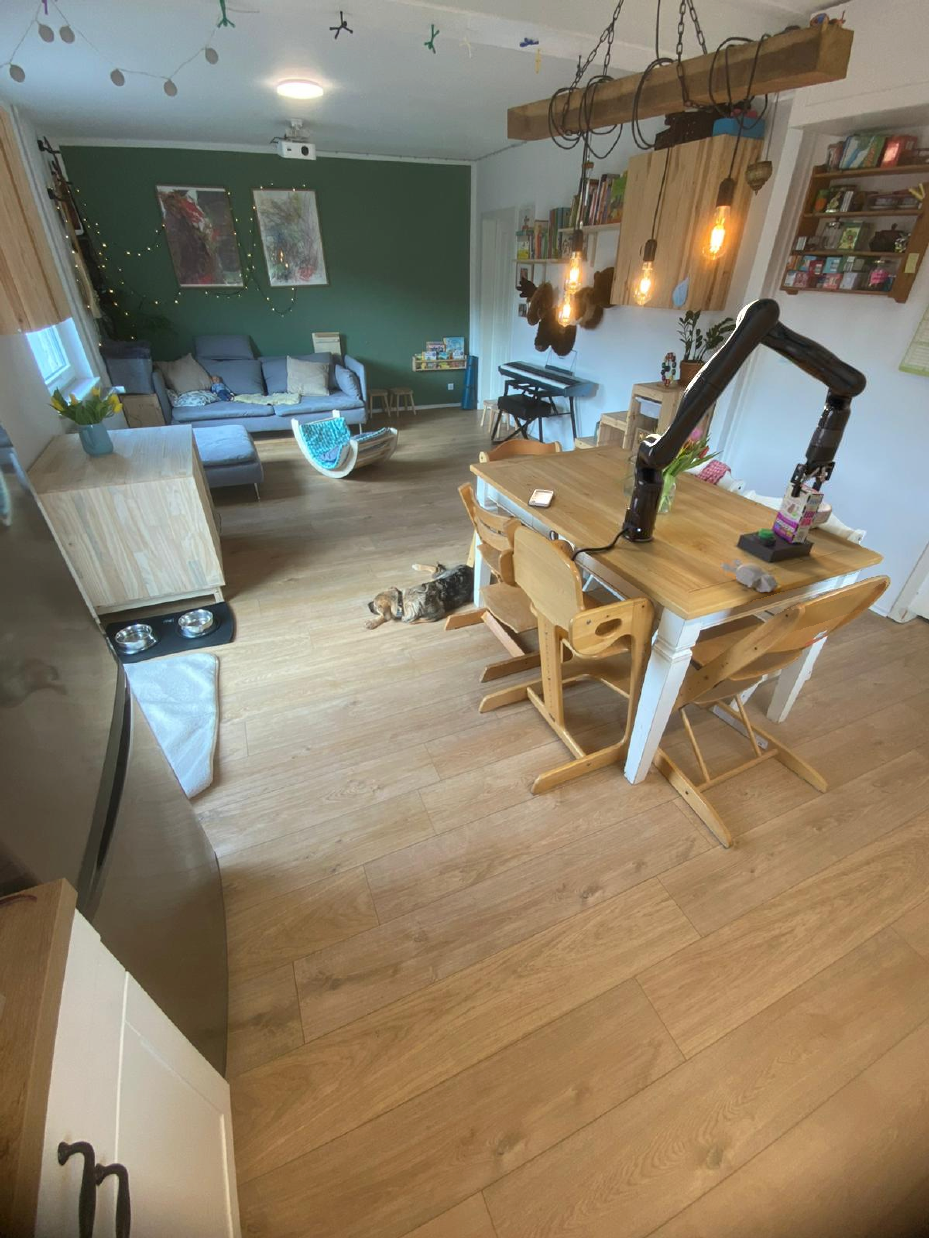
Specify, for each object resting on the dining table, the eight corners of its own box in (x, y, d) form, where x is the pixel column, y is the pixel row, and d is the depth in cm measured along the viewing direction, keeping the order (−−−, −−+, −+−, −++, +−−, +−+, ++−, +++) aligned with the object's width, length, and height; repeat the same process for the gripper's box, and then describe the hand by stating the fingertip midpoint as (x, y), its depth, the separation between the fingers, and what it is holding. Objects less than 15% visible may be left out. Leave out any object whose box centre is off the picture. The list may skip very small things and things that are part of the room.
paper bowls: (796, 533, 187) (804, 511, 182) (769, 516, 199) (776, 496, 195) (834, 531, 189) (843, 510, 185) (805, 515, 202) (813, 495, 197)
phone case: (547, 507, 202) (553, 494, 214) (548, 503, 201) (553, 491, 214) (528, 504, 204) (535, 492, 216) (529, 501, 203) (535, 489, 215)
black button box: (767, 562, 166) (774, 545, 163) (735, 546, 176) (741, 529, 173) (809, 554, 173) (816, 537, 169) (775, 538, 183) (782, 522, 179)
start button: (765, 540, 167) (767, 534, 166) (755, 535, 170) (757, 529, 169) (774, 538, 169) (776, 532, 167) (764, 533, 172) (766, 527, 171)
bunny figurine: (768, 585, 145) (721, 559, 155) (760, 600, 149) (715, 573, 158) (786, 577, 150) (740, 551, 159) (778, 591, 153) (733, 566, 162)
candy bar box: (805, 543, 170) (825, 494, 161) (790, 544, 169) (810, 494, 160) (784, 529, 179) (802, 482, 170) (770, 529, 178) (788, 482, 170)
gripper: (829, 438, 163) (809, 489, 172) (796, 441, 158) (777, 494, 167) (852, 444, 157) (830, 497, 166) (819, 448, 152) (798, 502, 161)
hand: (803, 495), depth 166 cm, fingers open, 8 cm apart
